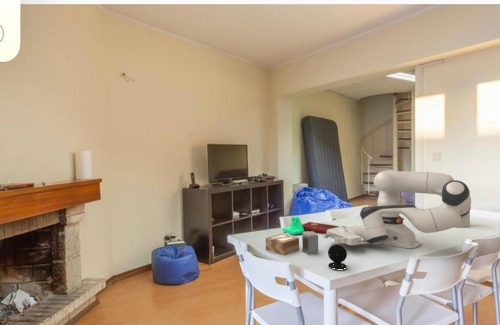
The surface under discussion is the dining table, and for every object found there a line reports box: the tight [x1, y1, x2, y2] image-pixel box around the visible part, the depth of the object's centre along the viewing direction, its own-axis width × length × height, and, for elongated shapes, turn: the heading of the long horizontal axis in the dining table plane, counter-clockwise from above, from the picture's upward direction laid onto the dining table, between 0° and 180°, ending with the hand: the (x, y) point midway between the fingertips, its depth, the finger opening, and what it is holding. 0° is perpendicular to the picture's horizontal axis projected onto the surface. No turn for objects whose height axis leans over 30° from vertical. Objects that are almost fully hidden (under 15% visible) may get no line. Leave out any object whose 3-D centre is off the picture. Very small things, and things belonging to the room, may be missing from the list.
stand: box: [265, 233, 300, 256], centre depth 154 cm, size 12×12×6 cm
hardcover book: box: [302, 221, 340, 235], centre depth 191 cm, size 12×21×4 cm, turn 50°
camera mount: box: [282, 215, 305, 236], centre depth 187 cm, size 12×8×10 cm, turn 32°
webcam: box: [327, 243, 348, 269], centre depth 128 cm, size 8×8×10 cm
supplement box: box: [455, 210, 471, 228], centre depth 199 cm, size 10×9×17 cm
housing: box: [301, 231, 319, 256], centre depth 148 cm, size 6×6×10 cm
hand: (330, 238), depth 152 cm, fingers open, 8 cm apart
